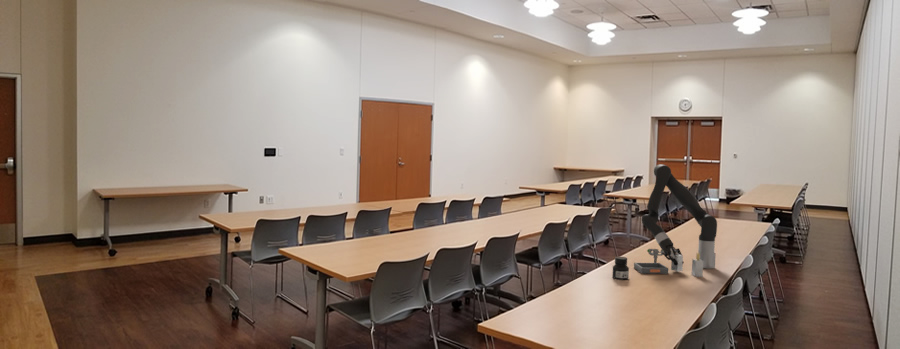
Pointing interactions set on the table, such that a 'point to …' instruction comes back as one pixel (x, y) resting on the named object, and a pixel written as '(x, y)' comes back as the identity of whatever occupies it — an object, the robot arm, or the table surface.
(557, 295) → the table surface
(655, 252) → the mechanical component
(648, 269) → the tray
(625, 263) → the ink bottle
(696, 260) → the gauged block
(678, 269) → the block
